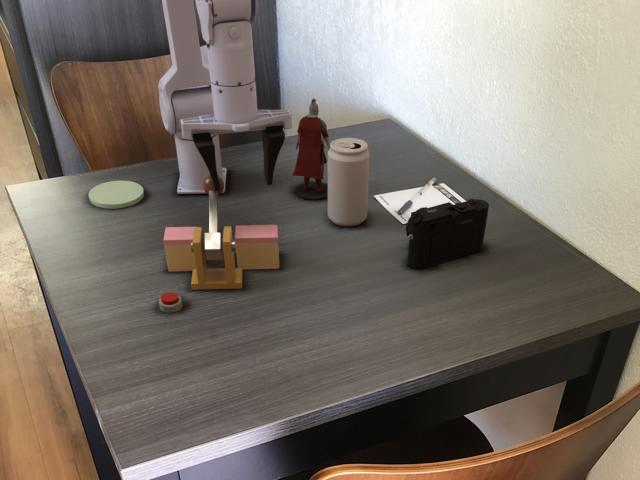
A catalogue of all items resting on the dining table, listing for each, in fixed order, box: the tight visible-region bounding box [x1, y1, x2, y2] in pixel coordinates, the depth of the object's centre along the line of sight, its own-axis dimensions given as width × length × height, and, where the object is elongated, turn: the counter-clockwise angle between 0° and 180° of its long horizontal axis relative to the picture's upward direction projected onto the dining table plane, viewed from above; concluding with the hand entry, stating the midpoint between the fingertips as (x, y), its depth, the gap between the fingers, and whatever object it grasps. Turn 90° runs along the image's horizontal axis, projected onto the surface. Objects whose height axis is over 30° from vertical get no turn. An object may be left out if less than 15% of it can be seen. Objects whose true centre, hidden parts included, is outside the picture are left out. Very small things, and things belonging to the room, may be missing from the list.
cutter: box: [203, 175, 224, 261], centre depth 102 cm, size 13×3×3 cm, turn 4°
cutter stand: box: [190, 225, 244, 291], centre depth 101 cm, size 4×7×7 cm, turn 94°
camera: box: [405, 198, 490, 270], centre depth 108 cm, size 14×7×8 cm, turn 120°
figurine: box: [291, 98, 331, 201], centre depth 119 cm, size 7×7×15 cm
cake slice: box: [162, 226, 196, 273], centre depth 105 cm, size 4×4×5 cm
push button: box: [158, 291, 183, 314], centre depth 98 cm, size 3×3×2 cm
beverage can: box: [327, 137, 371, 227], centre depth 113 cm, size 6×6×12 cm
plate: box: [88, 180, 145, 210], centre depth 122 cm, size 9×9×1 cm
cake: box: [234, 224, 280, 271], centre depth 106 cm, size 4×6×5 cm, turn 94°
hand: (242, 185), depth 102 cm, fingers open, 7 cm apart
